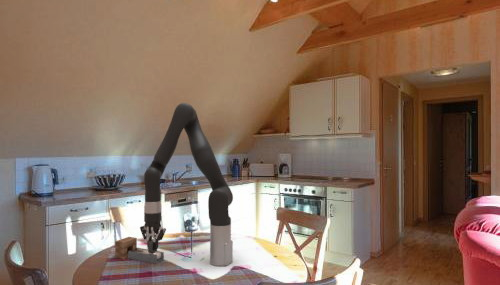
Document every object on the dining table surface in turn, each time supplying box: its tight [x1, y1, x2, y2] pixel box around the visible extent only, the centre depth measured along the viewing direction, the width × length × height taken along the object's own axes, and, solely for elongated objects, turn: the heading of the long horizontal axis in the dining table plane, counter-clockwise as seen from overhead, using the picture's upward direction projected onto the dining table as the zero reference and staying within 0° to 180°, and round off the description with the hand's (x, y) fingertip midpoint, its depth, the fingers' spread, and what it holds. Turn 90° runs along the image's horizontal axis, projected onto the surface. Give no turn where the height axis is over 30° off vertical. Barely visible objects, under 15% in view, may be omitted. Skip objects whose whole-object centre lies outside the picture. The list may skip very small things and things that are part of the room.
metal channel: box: [127, 247, 165, 265], centre depth 149 cm, size 16×6×4 cm, turn 66°
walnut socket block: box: [114, 236, 138, 260], centre depth 154 cm, size 5×8×8 cm, turn 156°
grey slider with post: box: [136, 238, 162, 259], centre depth 148 cm, size 13×3×8 cm, turn 66°
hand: (152, 249), depth 147 cm, fingers closed on grey slider with post, 2 cm apart
